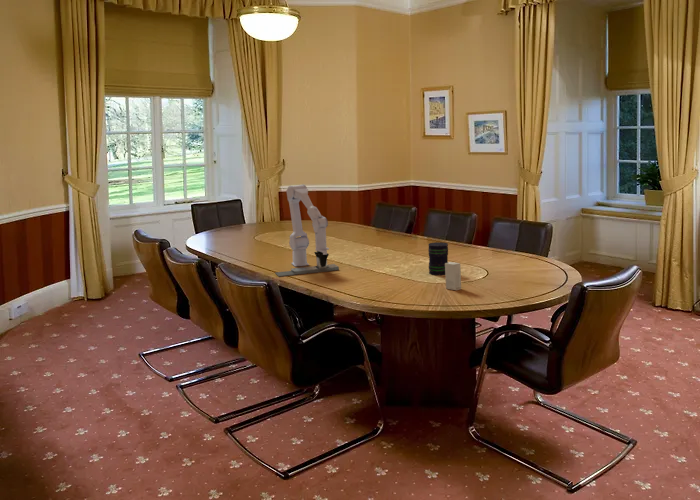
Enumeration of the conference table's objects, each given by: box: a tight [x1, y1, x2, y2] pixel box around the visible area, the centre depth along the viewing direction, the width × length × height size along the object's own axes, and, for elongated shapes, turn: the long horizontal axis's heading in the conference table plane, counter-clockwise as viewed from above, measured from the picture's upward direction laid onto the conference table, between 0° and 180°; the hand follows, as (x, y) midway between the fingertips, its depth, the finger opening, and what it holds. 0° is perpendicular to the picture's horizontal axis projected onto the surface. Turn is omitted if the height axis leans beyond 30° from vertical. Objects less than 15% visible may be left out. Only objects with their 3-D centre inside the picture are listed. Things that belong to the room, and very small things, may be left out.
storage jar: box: [427, 241, 449, 276], centre depth 346 cm, size 10×10×15 cm
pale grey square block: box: [315, 256, 328, 269], centre depth 364 cm, size 4×4×7 cm
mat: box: [274, 270, 297, 278], centre depth 358 cm, size 9×9×1 cm
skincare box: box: [444, 261, 462, 291], centre depth 314 cm, size 6×4×12 cm
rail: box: [290, 263, 340, 276], centre depth 363 cm, size 8×24×2 cm, turn 108°
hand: (322, 265), depth 364 cm, fingers closed on pale grey square block, 4 cm apart
